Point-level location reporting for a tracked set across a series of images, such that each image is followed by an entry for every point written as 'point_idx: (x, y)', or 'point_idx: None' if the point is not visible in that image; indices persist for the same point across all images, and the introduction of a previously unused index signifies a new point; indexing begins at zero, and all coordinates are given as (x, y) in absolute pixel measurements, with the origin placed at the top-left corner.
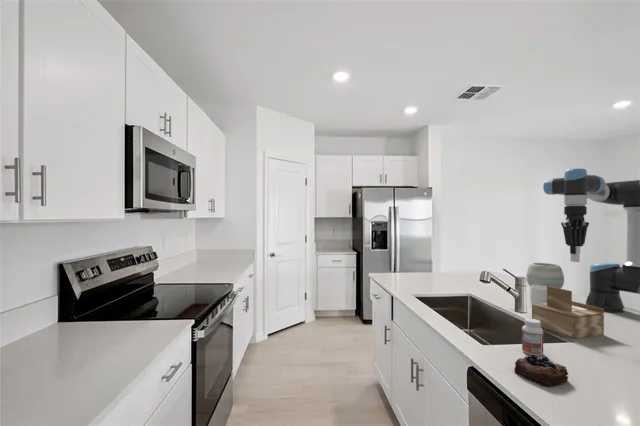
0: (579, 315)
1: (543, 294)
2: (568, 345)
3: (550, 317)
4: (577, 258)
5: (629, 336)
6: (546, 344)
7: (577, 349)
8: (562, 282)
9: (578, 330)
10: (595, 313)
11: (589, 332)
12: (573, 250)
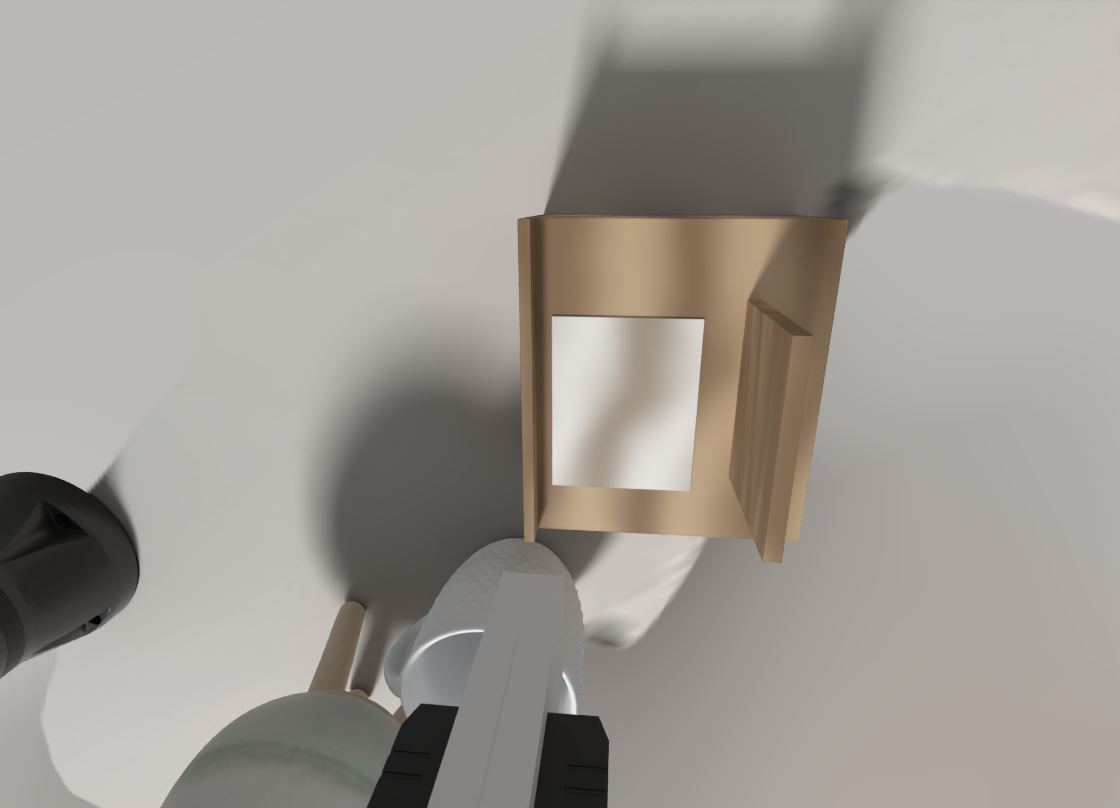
0: (784, 219)
1: None
2: (952, 138)
3: None
4: (546, 617)
5: (415, 152)
6: (1065, 190)
7: (977, 69)
8: (254, 724)
9: (767, 216)
10: (606, 222)
11: (665, 215)
12: (604, 792)
